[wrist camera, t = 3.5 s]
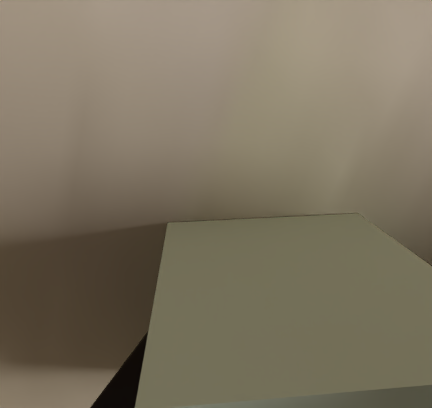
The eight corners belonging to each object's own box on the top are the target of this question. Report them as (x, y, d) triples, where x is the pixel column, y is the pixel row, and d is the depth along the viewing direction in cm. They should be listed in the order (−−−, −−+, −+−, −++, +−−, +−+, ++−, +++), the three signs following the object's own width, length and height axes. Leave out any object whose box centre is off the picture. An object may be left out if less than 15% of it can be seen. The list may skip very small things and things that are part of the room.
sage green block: (358, 213, 8) (579, 371, 4) (337, 359, 10) (469, 598, 5) (167, 222, 8) (134, 410, 3) (179, 372, 10) (168, 639, 5)
